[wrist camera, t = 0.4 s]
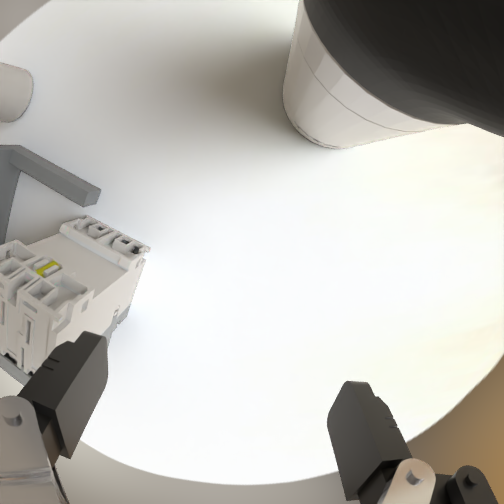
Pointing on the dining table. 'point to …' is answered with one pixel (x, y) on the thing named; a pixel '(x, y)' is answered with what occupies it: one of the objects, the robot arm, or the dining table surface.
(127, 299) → the circuit breaker
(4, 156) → the breaker bay
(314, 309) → the dining table surface
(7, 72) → the beverage can
